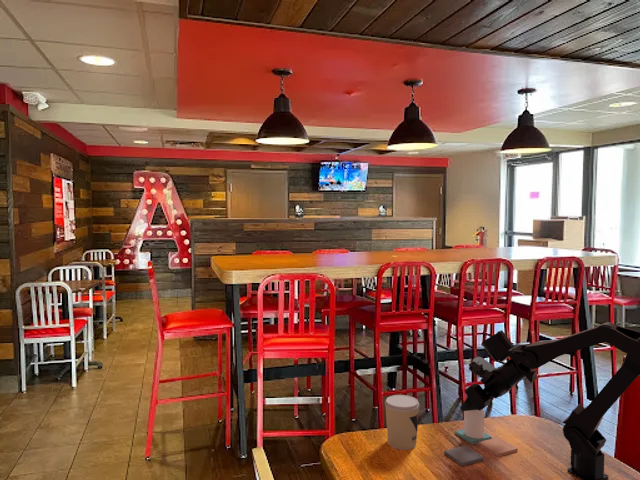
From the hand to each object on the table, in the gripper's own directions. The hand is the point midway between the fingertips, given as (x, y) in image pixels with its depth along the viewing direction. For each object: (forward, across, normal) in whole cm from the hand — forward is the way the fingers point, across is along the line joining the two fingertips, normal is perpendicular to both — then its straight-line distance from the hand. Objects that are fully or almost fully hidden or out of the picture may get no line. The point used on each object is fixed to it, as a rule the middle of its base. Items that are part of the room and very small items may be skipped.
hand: (469, 404), depth 137 cm
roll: (+5, 0, +7) cm, 8 cm away
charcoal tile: (+3, +12, +10) cm, 16 cm away
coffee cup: (+14, +17, -2) cm, 22 cm away
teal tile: (+5, 0, +7) cm, 9 cm away
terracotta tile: (0, +2, +13) cm, 13 cm away
